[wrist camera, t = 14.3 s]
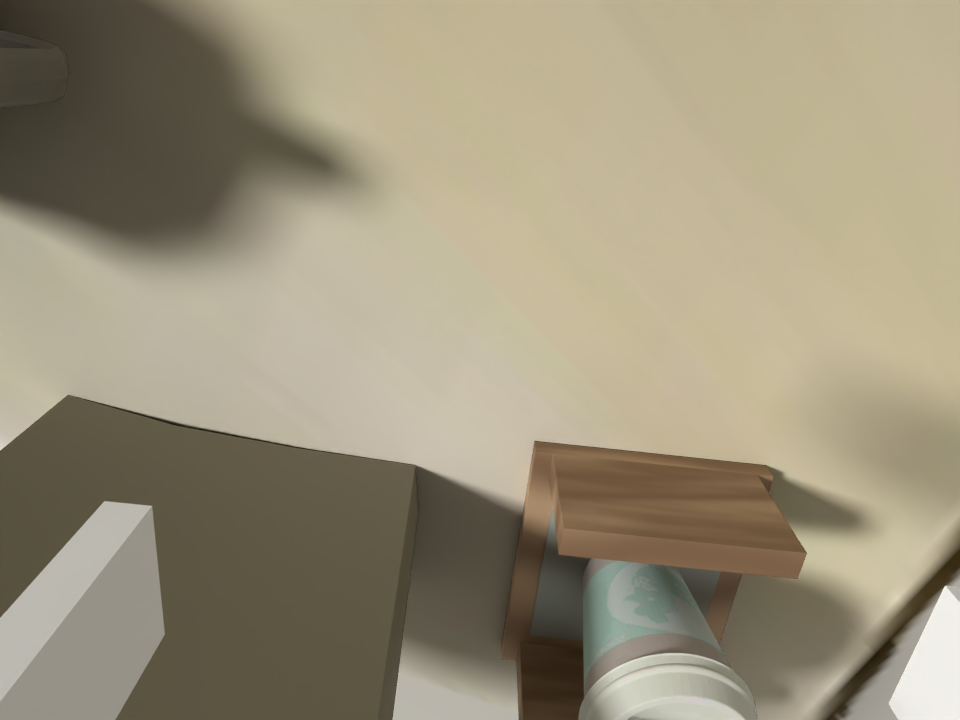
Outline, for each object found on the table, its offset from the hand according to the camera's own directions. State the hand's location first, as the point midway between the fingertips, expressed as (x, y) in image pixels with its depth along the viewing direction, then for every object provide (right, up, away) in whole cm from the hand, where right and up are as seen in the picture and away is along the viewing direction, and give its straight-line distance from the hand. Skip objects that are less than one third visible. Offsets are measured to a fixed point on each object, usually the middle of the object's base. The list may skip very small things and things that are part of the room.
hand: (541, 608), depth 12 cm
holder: (+8, -9, +33) cm, 35 cm away
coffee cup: (+8, -9, +31) cm, 34 cm away
